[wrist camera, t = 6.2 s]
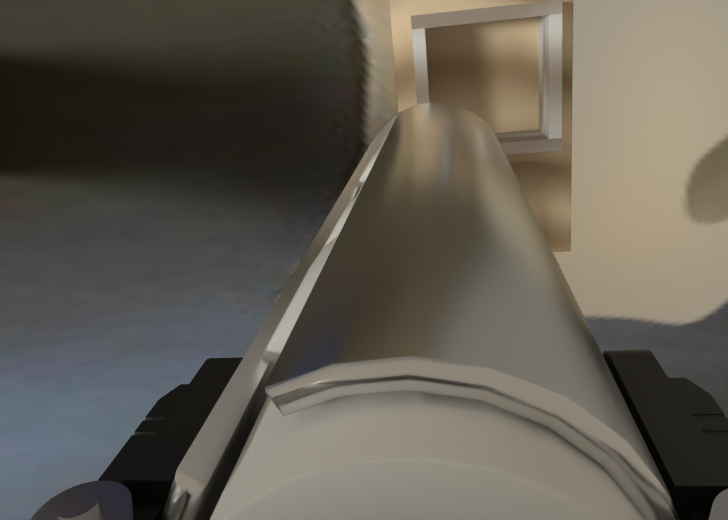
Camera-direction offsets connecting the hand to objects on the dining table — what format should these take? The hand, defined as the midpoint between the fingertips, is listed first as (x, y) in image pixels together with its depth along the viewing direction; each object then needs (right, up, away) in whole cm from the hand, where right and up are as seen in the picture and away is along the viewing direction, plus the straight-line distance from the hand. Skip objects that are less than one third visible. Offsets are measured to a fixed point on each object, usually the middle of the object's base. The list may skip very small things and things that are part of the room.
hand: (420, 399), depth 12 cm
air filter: (+2, +7, +19) cm, 20 cm away
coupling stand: (+7, +16, +34) cm, 38 cm away
